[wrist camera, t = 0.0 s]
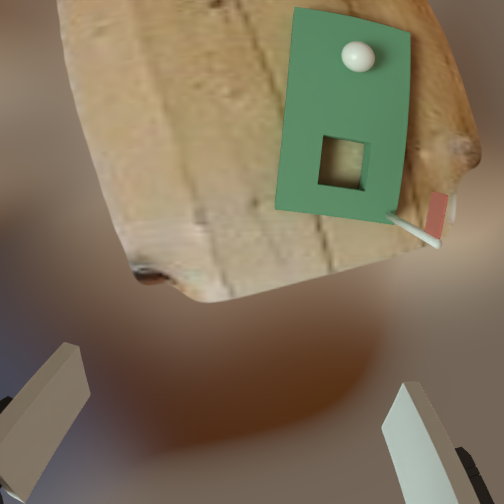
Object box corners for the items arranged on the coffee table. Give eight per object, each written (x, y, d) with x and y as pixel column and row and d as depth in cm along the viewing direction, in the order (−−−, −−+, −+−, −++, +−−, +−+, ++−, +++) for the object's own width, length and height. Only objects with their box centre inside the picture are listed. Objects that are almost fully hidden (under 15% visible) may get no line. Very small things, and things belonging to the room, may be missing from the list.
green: (293, 15, 30) (295, 6, 27) (402, 38, 29) (410, 32, 27) (274, 205, 37) (275, 209, 34) (386, 220, 37) (394, 224, 34)
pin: (390, 180, 33) (443, 194, 21) (396, 181, 33) (451, 196, 21) (384, 218, 34) (433, 248, 23) (390, 219, 34) (440, 249, 23)
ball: (339, 44, 28) (346, 33, 25) (369, 50, 28) (379, 41, 25) (337, 72, 30) (344, 63, 26) (368, 78, 29) (378, 71, 26)
